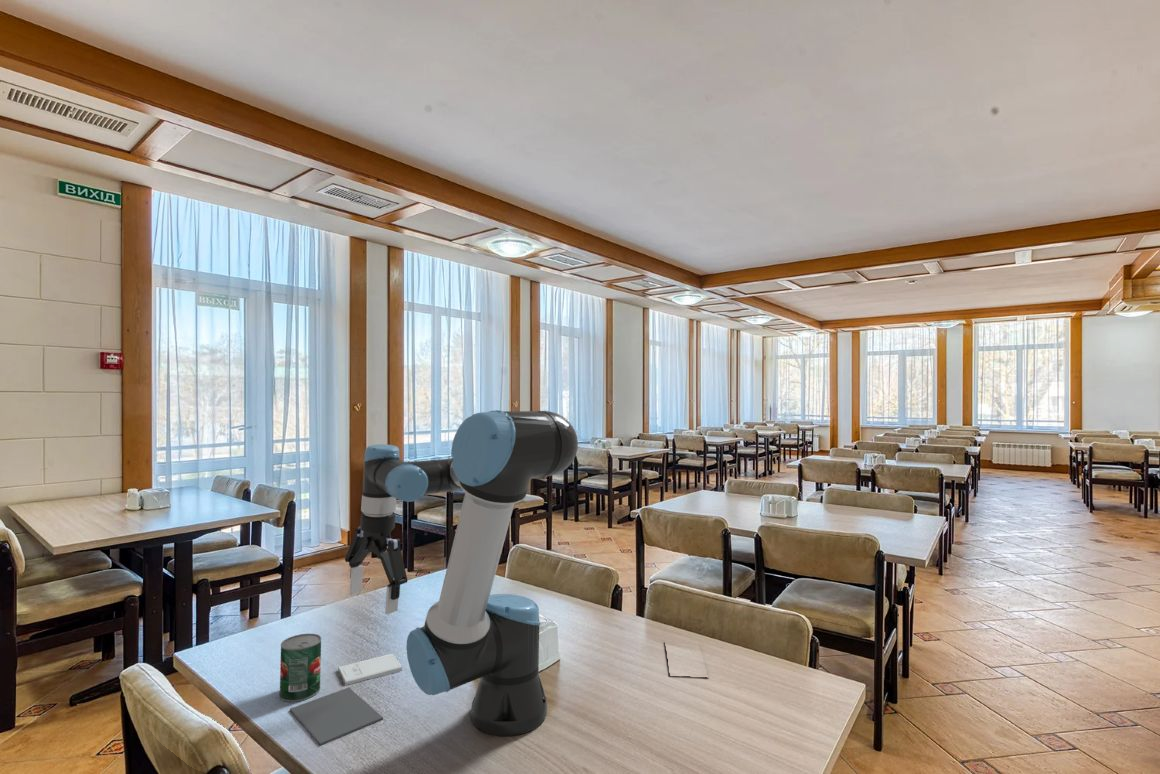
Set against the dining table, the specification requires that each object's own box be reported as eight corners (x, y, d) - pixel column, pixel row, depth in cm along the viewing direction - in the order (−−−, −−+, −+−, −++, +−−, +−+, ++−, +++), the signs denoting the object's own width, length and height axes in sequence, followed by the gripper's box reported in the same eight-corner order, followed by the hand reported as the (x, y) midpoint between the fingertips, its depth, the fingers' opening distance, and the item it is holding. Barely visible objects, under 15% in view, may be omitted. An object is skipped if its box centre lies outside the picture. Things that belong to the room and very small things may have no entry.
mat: (382, 719, 111) (382, 717, 111) (320, 745, 102) (320, 743, 102) (348, 689, 122) (348, 687, 122) (290, 710, 114) (290, 708, 114)
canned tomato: (274, 691, 121) (275, 640, 121) (312, 679, 126) (313, 630, 127) (286, 706, 115) (287, 652, 115) (326, 692, 121) (327, 641, 121)
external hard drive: (402, 673, 131) (345, 688, 124) (392, 659, 138) (338, 672, 131) (402, 666, 131) (345, 680, 124) (392, 652, 138) (338, 665, 131)
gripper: (427, 521, 125) (421, 614, 126) (360, 498, 139) (355, 582, 140) (399, 528, 118) (393, 626, 120) (332, 503, 133) (327, 591, 134)
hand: (372, 602), depth 130 cm, fingers open, 13 cm apart
